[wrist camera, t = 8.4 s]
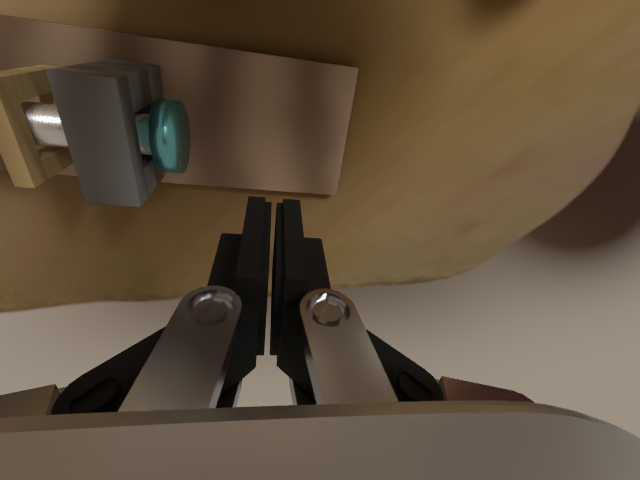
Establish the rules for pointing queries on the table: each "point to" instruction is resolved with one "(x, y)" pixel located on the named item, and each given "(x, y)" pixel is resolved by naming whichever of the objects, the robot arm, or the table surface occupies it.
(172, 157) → the shaft
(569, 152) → the table surface
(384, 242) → the table surface
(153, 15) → the table surface
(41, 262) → the table surface
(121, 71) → the shaft frame
